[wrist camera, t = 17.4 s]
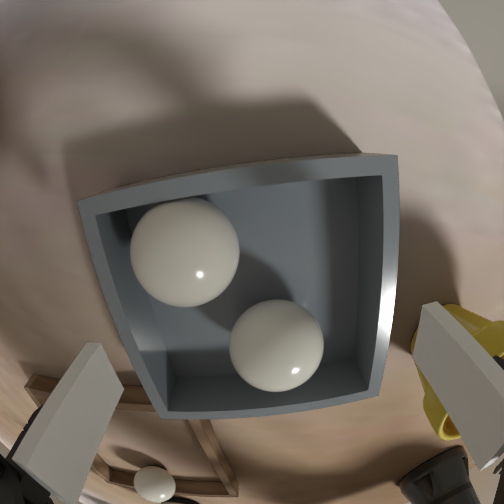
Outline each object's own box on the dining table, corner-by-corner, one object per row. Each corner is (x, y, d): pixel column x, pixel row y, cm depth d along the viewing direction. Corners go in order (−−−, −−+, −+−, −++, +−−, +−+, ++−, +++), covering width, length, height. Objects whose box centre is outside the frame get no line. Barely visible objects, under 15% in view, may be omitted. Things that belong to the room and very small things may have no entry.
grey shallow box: (360, 356, 23) (378, 395, 18) (172, 377, 24) (160, 418, 19) (362, 152, 17) (397, 155, 13) (114, 187, 18) (77, 201, 13)
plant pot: (472, 263, 20) (543, 314, 11) (477, 337, 23) (524, 391, 14) (382, 321, 22) (435, 403, 13) (402, 387, 25) (437, 455, 16)
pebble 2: (203, 346, 14) (107, 271, 11) (175, 305, 19) (107, 246, 16) (281, 257, 15) (202, 168, 12) (233, 239, 20) (173, 176, 17)
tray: (238, 483, 32) (238, 497, 30) (110, 471, 33) (107, 482, 31) (196, 386, 24) (192, 405, 22) (32, 374, 25) (23, 387, 23)
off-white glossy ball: (299, 350, 22) (343, 385, 16) (228, 375, 20) (258, 423, 14) (289, 279, 21) (339, 301, 15) (209, 302, 19) (237, 337, 13)
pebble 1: (183, 478, 32) (178, 510, 26) (147, 474, 32) (140, 504, 26) (170, 461, 30) (163, 496, 24) (131, 456, 30) (122, 489, 24)
